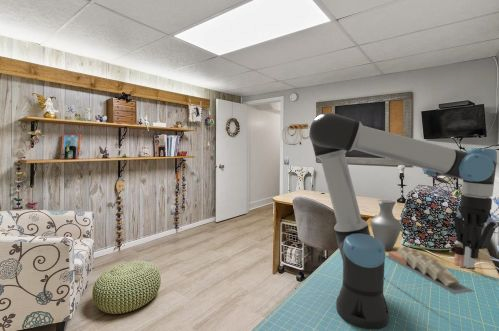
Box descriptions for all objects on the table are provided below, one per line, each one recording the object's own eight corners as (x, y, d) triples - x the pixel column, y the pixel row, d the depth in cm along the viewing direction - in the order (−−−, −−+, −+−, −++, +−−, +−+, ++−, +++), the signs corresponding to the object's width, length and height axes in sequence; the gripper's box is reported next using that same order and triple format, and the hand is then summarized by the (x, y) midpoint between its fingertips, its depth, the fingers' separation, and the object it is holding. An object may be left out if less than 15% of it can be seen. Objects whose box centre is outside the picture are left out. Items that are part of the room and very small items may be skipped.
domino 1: (406, 260, 110) (388, 251, 120) (406, 265, 110) (388, 255, 120) (415, 259, 112) (397, 250, 121) (415, 264, 112) (397, 255, 121)
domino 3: (426, 271, 101) (407, 252, 110) (424, 274, 102) (405, 255, 111) (436, 270, 102) (417, 250, 111) (433, 273, 103) (415, 254, 112)
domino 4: (437, 277, 97) (417, 256, 105) (434, 280, 98) (415, 259, 106) (447, 275, 98) (426, 255, 106) (444, 279, 99) (424, 258, 107)
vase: (366, 248, 132) (367, 201, 130) (373, 241, 143) (375, 197, 141) (397, 256, 122) (399, 205, 121) (403, 247, 133) (405, 200, 132)
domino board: (454, 296, 88) (454, 294, 88) (385, 258, 120) (385, 256, 119) (474, 293, 91) (474, 290, 91) (401, 256, 122) (401, 254, 122)
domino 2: (415, 266, 106) (398, 247, 114) (413, 269, 107) (397, 250, 115) (425, 264, 107) (408, 246, 115) (423, 267, 108) (406, 249, 116)
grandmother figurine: (471, 270, 108) (473, 241, 107) (466, 272, 106) (468, 242, 106) (450, 263, 115) (452, 235, 114) (446, 264, 113) (447, 237, 112)
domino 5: (449, 283, 92) (427, 261, 101) (446, 286, 93) (424, 264, 102) (459, 281, 93) (437, 259, 102) (457, 285, 94) (434, 263, 103)
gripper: (509, 200, 77) (500, 275, 78) (463, 192, 89) (456, 257, 91) (491, 200, 75) (482, 277, 76) (447, 192, 87) (440, 258, 89)
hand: (468, 266), depth 84 cm, fingers closed
